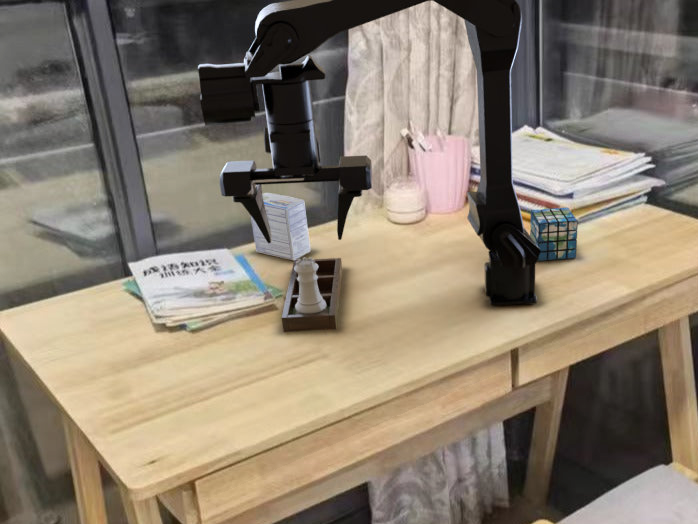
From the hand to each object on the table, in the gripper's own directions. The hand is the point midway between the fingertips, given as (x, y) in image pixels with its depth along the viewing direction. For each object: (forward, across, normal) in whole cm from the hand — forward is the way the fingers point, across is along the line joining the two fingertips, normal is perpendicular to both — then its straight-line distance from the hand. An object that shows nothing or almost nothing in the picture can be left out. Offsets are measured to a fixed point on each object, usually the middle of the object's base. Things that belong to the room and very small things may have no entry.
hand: (304, 240), depth 124 cm
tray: (+11, 0, -6) cm, 13 cm away
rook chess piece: (+11, 0, 0) cm, 11 cm away
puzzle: (+11, -36, -19) cm, 42 cm away
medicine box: (+11, +6, -24) cm, 27 cm away
